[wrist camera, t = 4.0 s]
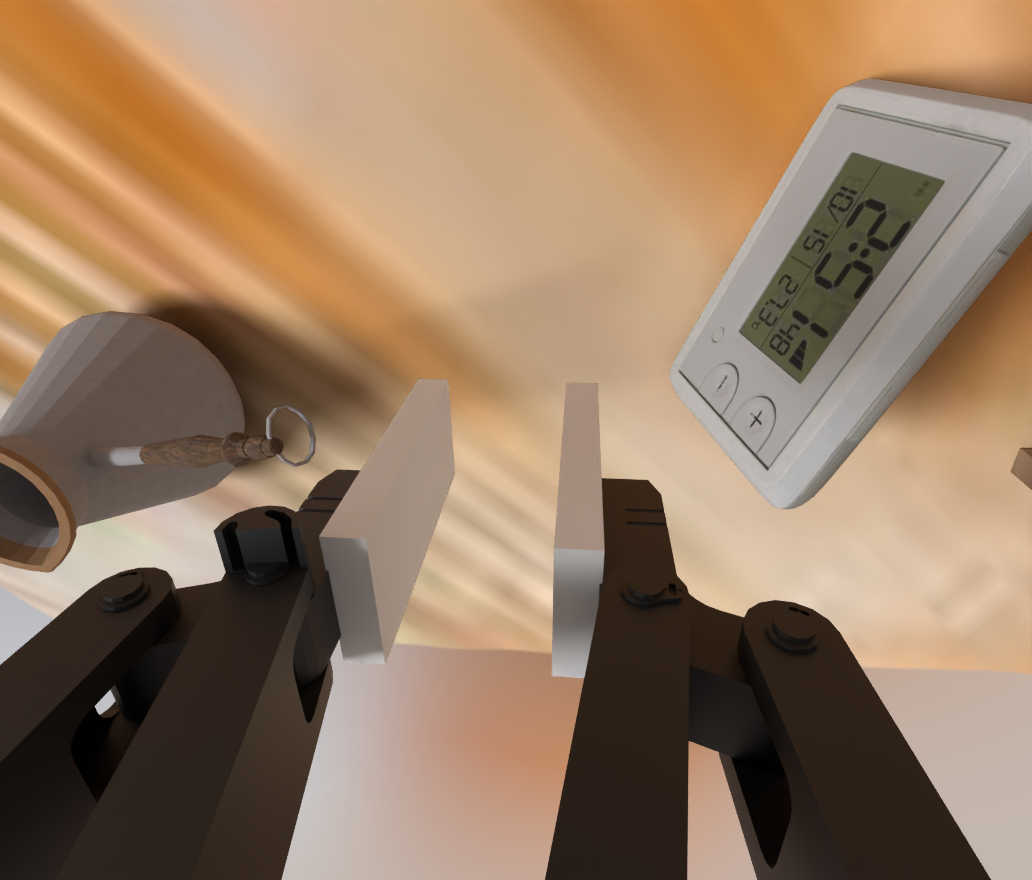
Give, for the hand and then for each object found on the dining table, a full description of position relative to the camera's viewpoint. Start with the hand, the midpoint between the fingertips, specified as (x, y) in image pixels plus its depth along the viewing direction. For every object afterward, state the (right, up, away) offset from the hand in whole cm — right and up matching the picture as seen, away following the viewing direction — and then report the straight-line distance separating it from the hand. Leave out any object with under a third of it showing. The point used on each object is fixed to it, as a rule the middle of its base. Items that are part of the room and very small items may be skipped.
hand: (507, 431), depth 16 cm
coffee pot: (-16, +4, +21) cm, 27 cm away
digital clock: (+14, +9, +15) cm, 22 cm away
